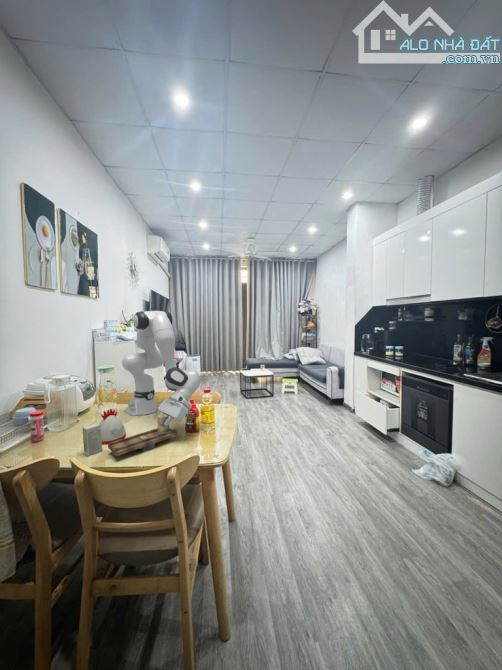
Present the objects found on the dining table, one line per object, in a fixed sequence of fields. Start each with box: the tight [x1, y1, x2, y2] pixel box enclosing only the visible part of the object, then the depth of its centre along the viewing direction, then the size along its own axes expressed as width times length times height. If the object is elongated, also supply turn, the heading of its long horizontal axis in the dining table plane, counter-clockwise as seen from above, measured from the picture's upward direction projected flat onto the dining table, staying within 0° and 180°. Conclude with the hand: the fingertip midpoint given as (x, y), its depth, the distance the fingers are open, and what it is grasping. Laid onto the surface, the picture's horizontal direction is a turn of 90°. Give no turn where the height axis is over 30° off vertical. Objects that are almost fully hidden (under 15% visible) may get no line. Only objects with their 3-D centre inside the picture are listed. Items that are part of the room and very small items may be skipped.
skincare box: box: [82, 422, 103, 457], centre depth 118 cm, size 6×4×12 cm
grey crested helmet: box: [98, 408, 127, 446], centre depth 132 cm, size 14×14×15 cm
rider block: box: [156, 414, 170, 434], centre depth 130 cm, size 4×4×8 cm
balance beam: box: [107, 427, 178, 457], centre depth 123 cm, size 28×11×5 cm, turn 135°
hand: (162, 423), depth 129 cm, fingers closed on rider block, 4 cm apart
